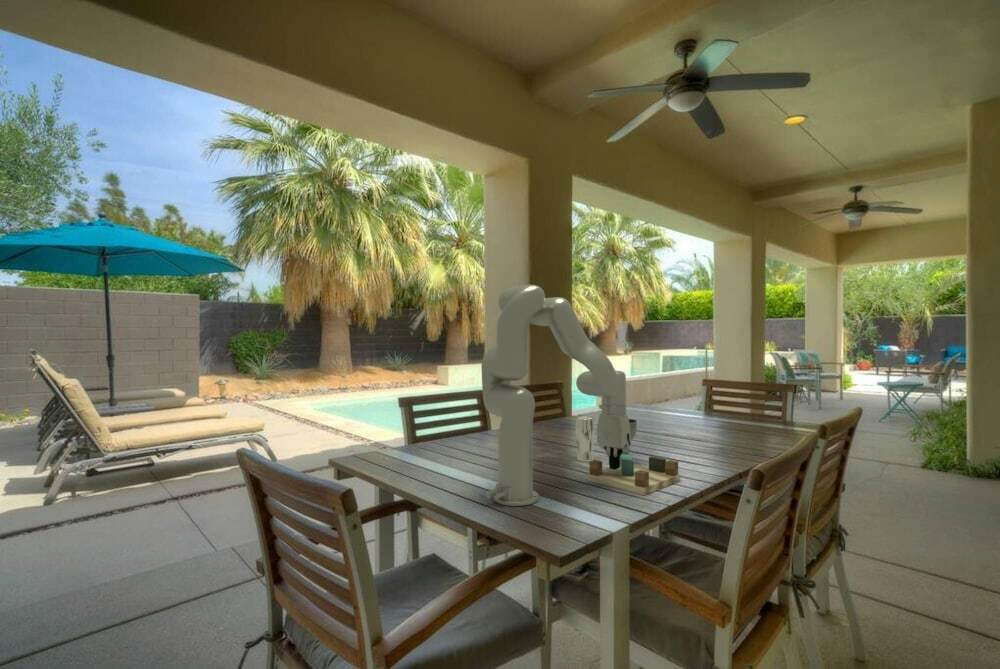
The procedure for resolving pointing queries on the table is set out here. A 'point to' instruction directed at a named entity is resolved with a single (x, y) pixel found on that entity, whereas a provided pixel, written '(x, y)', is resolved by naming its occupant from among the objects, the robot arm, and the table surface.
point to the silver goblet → (633, 429)
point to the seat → (637, 476)
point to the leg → (627, 463)
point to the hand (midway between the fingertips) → (614, 468)
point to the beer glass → (585, 438)
